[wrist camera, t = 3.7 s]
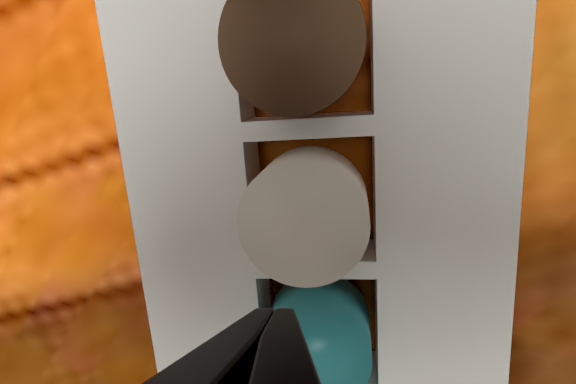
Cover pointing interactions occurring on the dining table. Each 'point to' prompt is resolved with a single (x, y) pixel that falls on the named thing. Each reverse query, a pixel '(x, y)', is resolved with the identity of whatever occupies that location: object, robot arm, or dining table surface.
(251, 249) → the key ivory
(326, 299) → the key teal
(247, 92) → the key walnut
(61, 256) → the dining table surface
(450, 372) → the keypad
